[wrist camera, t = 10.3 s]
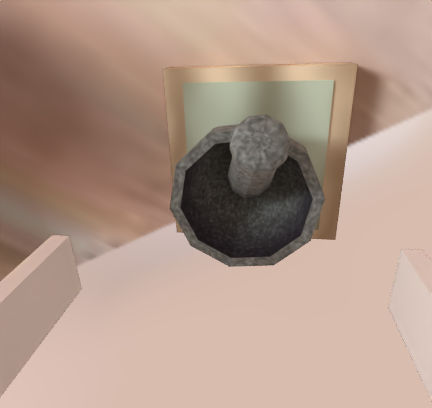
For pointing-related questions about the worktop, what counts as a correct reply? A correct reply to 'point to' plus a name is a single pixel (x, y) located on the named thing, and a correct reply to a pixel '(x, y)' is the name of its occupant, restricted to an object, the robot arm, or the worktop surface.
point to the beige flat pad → (273, 106)
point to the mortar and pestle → (247, 193)
